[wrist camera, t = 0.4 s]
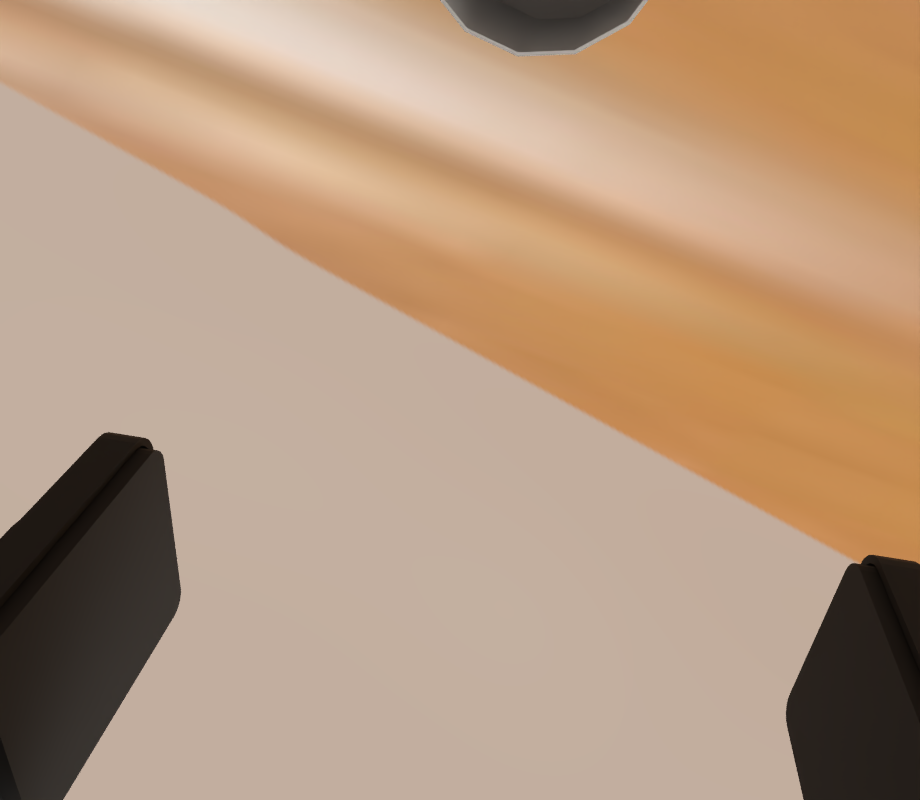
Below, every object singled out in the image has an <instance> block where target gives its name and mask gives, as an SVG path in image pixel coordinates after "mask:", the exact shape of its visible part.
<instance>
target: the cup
mask: <svg viewBox="0 0 920 800" xmlns="http://www.w3.org/2000/svg"><path fill="white" fill-rule="evenodd" d="M440 1H441V2H442V3H443V5H444V6H445V7H446V8H447V10H448V11H449V12H450V13H451V15H452V16H453V17H454V18H455V20H456V21H457V22H458V23H459V25H460V26H461V27H462V28H463V30H464V31H465V32H467V33H469V34H471V35H473V36H476V37H478V38H480V39H482V40H484V41H486V42H488V43H490V44H492V45H494V46H497V47H499V48H501V49H503V50H505V51H507V52H509V53H511V54H513V55H516V56H540V55H566V54H576V53H578V52H580V51H582V50H584V49H586V48H587V47H589V46H591V45H593V44H595V43H597V42H598V41H600V40H602V39H604V38H606V37H607V36H609V35H611V34H613V33H615V32H617V31H618V30H620V29H622V28H624V27H626V26H628V25H629V24H630V23H631V22H632V21H633V19H634V18H635V17H636V15H637V14H638V13H639V11H640V10H641V9H642V8H643V6H644V5H645V4H646V2H647V1H648V0H440Z"/></svg>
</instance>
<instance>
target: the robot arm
mask: <svg viewBox="0 0 920 800" xmlns="http://www.w3.org/2000/svg"><path fill="white" fill-rule="evenodd" d="M180 595H181V587H180V580H179V572H178V564H177V557H176V549H175V542H174V534H173V527H172V519H171V511H170V503H169V496H168V488H167V480H166V473H165V466H164V459H163V455H162V454H161V452H160V451H157V450H153V446H152V444H151V442H150V441H149V440H148V439H146V438H141V437H135V436H129V435H122V434H117V433H110V432H108V433H104V434H102V435H101V436H100V437H99V438H98V439H97V440H96V441H95V442H94V443H93V444H92V445H91V446H90V447H89V448H88V449H87V450H86V451H85V452H84V453H83V454H82V455H81V457H79V459H78V460H77V461H76V462H75V463H74V464H73V465H72V466H71V467H70V468H69V469H68V470H67V471H66V472H65V473H64V474H63V475H62V476H61V477H60V478H59V480H58V481H57V482H56V483H55V484H54V485H53V486H52V487H51V488H50V489H49V490H48V491H47V492H46V493H45V494H44V495H43V496H42V497H41V499H39V501H38V502H37V503H36V504H35V505H34V506H33V507H32V508H31V509H30V510H29V511H28V512H27V513H26V514H25V515H24V516H23V517H22V518H21V519H20V520H19V521H18V522H17V523H16V524H15V525H13V526H12V527H11V528H10V529H9V530H8V531H7V532H6V533H5V534H4V536H2V538H1V539H0V800H63V799H64V797H65V796H66V794H67V792H68V791H69V789H70V787H71V786H72V784H73V782H74V781H75V779H76V777H77V775H78V774H79V772H80V771H81V769H82V767H83V766H84V764H85V763H86V761H87V759H88V757H89V756H90V754H91V753H92V751H93V749H94V748H95V746H96V744H97V743H98V741H99V739H100V738H101V736H102V735H103V733H104V731H105V729H106V728H107V726H108V725H109V723H110V721H111V720H112V718H113V716H114V715H115V713H116V711H117V710H118V708H119V706H120V705H121V703H122V701H123V700H124V698H125V697H126V695H127V693H128V692H129V690H130V688H131V686H132V685H133V683H134V681H135V680H136V678H137V677H138V675H139V673H140V672H141V670H142V668H143V667H144V665H145V663H146V662H147V660H148V658H149V657H150V655H151V654H152V652H153V650H154V649H155V647H156V645H157V644H158V642H159V640H160V639H161V637H162V635H163V634H164V632H165V630H166V629H167V627H168V625H169V623H170V622H171V620H172V618H173V617H174V615H175V613H176V611H177V608H178V605H179V601H180ZM786 709H787V710H786V721H787V727H788V732H789V736H790V741H791V745H792V749H793V754H794V758H795V763H796V767H797V772H798V776H799V781H800V785H801V790H802V794H803V799H804V800H920V564H918V563H916V562H914V561H907V560H901V559H895V558H889V557H883V556H876V555H868V556H867V557H866V558H864V559H863V561H862V563H861V564H856V563H853V564H850V565H849V566H848V568H847V569H846V571H845V573H844V575H843V577H842V580H841V582H840V584H839V586H838V589H837V591H836V593H835V595H834V597H833V600H832V602H831V604H830V606H829V609H828V611H827V613H826V615H825V617H824V620H823V622H822V624H821V627H820V629H819V631H818V633H817V635H816V637H815V640H814V642H813V644H812V646H811V648H810V651H809V653H808V655H807V657H806V659H805V662H804V664H803V666H802V669H801V671H800V673H799V675H798V677H797V679H796V682H795V684H794V686H793V688H792V691H791V693H790V695H789V698H788V702H787V708H786Z"/></svg>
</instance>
